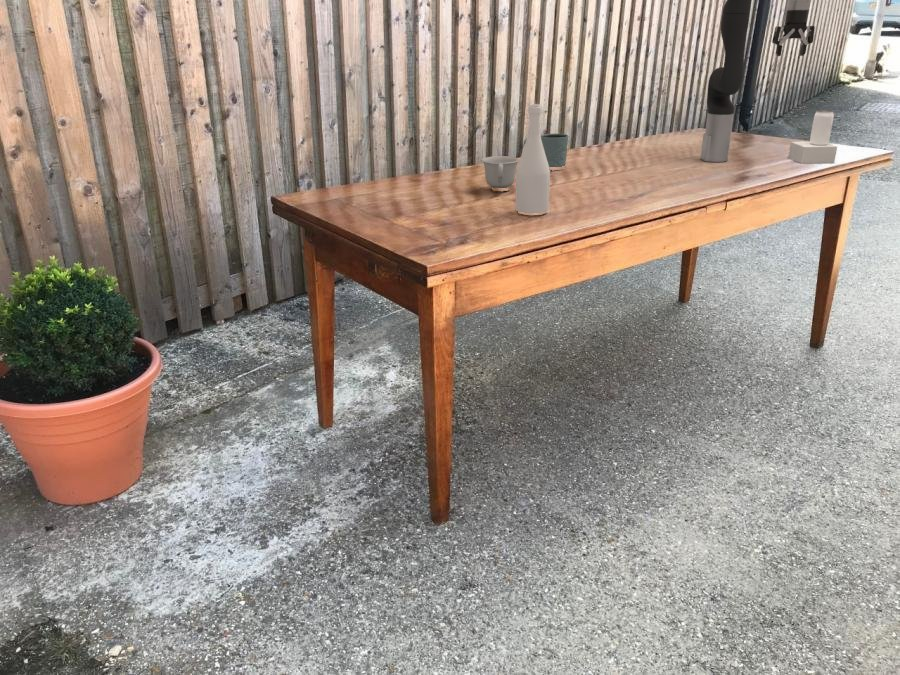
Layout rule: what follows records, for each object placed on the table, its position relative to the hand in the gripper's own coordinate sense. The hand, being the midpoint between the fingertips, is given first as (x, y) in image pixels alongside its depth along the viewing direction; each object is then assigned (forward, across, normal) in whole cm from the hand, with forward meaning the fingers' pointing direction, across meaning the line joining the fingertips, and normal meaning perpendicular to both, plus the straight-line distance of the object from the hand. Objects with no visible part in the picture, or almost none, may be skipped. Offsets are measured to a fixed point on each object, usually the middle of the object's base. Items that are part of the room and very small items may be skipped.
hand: (790, 55), depth 273 cm
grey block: (+36, +7, -17) cm, 40 cm away
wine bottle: (+36, -104, -90) cm, 142 cm away
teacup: (+36, -112, -62) cm, 133 cm away
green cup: (+36, -91, -26) cm, 101 cm away
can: (+30, +9, -17) cm, 36 cm away
